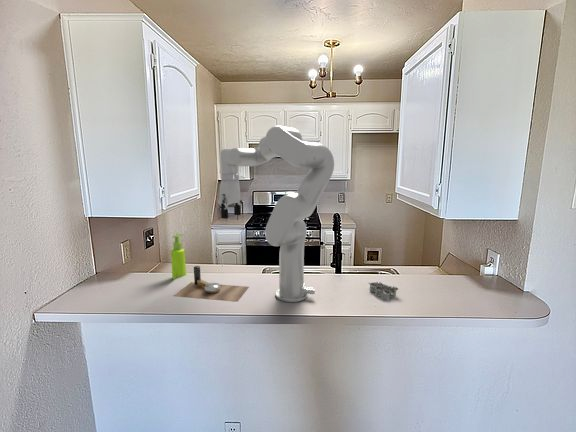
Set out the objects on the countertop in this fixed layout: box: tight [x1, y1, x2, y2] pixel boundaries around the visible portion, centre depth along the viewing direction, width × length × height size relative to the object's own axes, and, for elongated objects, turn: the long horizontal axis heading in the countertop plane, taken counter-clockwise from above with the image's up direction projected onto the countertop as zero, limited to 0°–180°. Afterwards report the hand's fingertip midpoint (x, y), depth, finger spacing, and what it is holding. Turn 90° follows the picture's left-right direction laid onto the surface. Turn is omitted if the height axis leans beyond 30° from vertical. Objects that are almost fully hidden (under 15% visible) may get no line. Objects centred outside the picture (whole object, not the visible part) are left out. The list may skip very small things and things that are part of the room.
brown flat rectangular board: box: [173, 281, 250, 303], centre depth 120 cm, size 26×14×2 cm, turn 79°
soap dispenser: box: [170, 233, 187, 280], centre depth 138 cm, size 6×7×20 cm
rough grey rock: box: [368, 281, 399, 300], centre depth 121 cm, size 11×8×4 cm
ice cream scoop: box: [193, 265, 221, 294], centre depth 123 cm, size 15×6×7 cm, turn 48°
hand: (231, 216), depth 135 cm, fingers open, 9 cm apart
